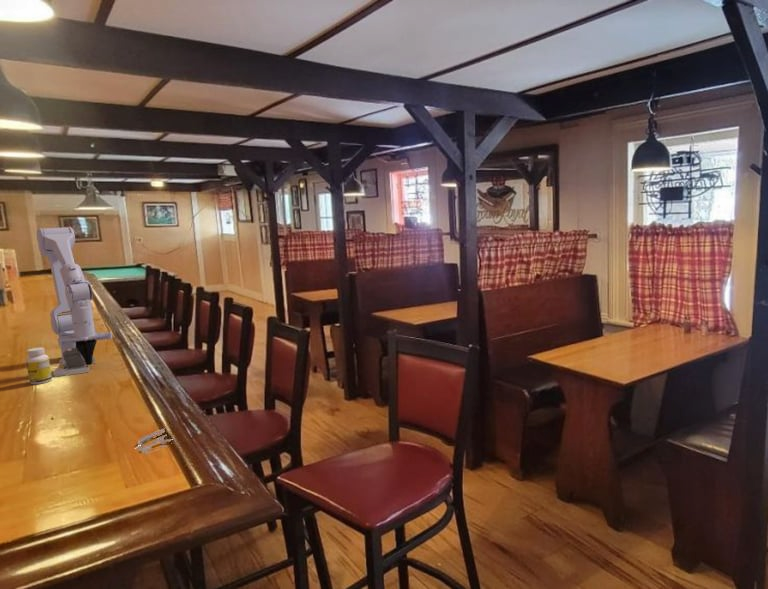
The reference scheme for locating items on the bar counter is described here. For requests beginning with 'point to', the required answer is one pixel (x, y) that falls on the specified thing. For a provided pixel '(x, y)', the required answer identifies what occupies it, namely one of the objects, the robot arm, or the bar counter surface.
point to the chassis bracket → (71, 369)
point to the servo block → (73, 358)
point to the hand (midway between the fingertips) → (89, 364)
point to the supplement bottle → (38, 366)
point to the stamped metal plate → (148, 438)
